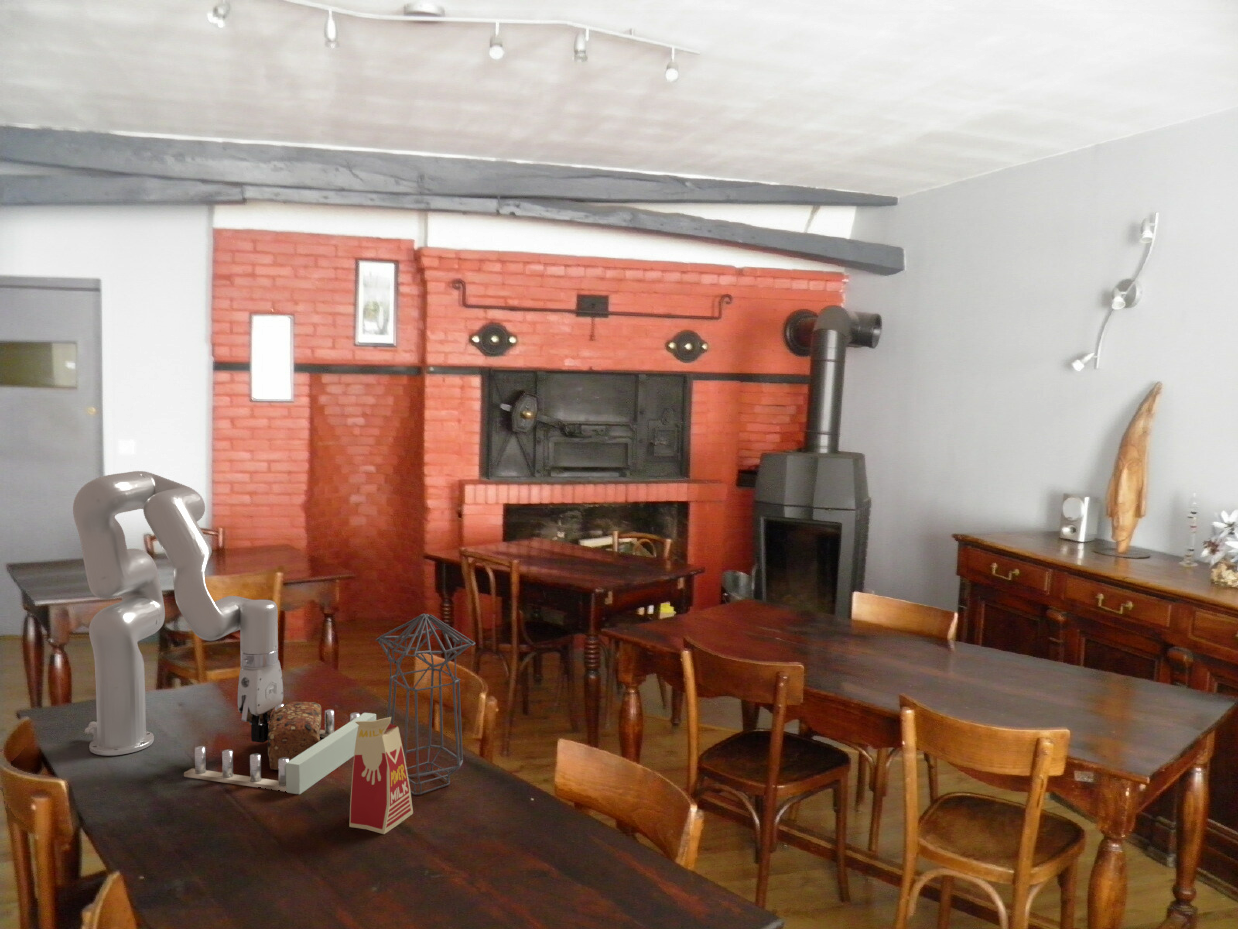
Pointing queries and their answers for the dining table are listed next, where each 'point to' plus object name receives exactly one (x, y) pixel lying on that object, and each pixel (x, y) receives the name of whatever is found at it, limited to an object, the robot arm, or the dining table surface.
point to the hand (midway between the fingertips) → (259, 740)
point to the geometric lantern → (450, 633)
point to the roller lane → (297, 770)
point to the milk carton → (379, 778)
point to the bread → (293, 730)
